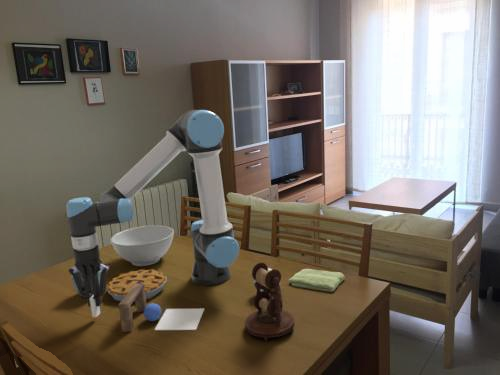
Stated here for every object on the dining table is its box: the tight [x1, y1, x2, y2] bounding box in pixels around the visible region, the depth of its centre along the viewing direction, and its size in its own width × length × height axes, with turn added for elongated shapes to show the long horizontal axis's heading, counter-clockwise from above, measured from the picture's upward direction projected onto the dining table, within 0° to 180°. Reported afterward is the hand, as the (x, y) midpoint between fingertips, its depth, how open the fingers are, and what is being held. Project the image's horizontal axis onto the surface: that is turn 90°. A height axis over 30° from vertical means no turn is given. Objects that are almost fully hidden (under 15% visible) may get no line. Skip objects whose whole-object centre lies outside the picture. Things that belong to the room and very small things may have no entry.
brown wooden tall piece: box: [244, 262, 295, 342], centre depth 129 cm, size 15×15×20 cm
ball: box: [143, 302, 162, 322], centre depth 140 cm, size 6×6×6 cm
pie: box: [106, 268, 168, 302], centre depth 164 cm, size 22×22×5 cm
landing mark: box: [154, 308, 205, 331], centre depth 140 cm, size 13×13×1 cm
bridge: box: [118, 284, 148, 333], centre depth 141 cm, size 3×14×9 cm, turn 174°
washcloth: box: [288, 268, 345, 293], centre depth 160 cm, size 13×18×3 cm
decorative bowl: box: [110, 224, 175, 267], centre depth 192 cm, size 27×27×12 cm
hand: (96, 314), depth 143 cm, fingers closed
